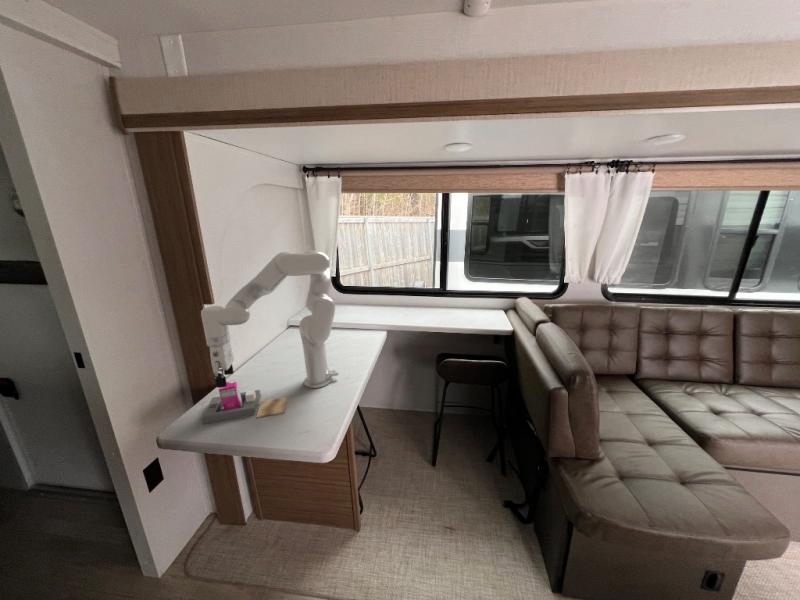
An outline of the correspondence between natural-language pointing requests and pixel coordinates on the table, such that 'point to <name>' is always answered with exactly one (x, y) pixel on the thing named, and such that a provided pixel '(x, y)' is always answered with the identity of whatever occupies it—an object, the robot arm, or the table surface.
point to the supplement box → (231, 395)
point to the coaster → (272, 407)
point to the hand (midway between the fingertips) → (225, 380)
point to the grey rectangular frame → (215, 407)
